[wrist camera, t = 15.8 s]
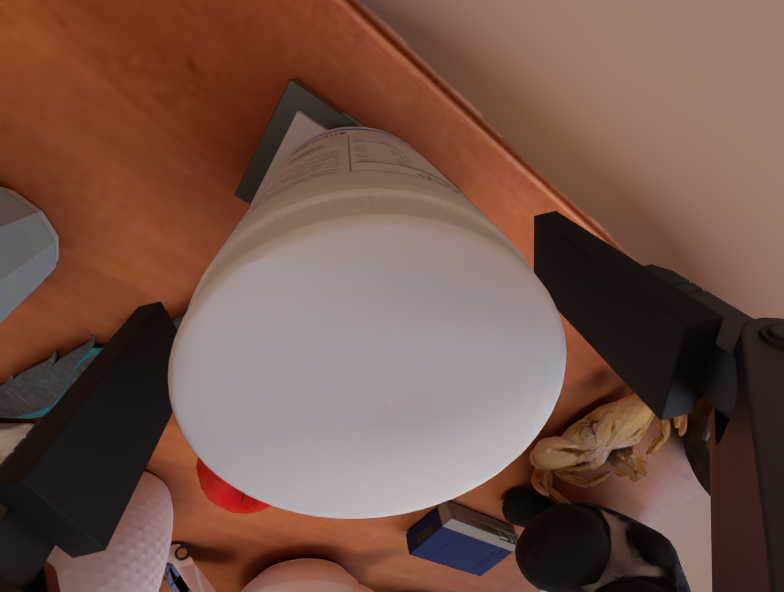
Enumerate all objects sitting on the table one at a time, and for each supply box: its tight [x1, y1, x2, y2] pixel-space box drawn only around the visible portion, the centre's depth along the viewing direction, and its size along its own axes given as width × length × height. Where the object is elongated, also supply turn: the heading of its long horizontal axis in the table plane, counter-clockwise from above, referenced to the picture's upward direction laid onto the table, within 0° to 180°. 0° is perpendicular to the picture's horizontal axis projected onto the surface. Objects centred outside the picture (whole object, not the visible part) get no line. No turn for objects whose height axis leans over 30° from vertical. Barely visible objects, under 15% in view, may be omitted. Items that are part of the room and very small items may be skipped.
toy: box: [502, 490, 691, 592], centre depth 36 cm, size 22×13×30 cm
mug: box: [46, 471, 173, 592], centre depth 29 cm, size 15×11×13 cm
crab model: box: [529, 392, 687, 504], centre depth 36 cm, size 16×13×6 cm
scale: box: [235, 78, 365, 206], centre depth 23 cm, size 12×7×3 cm, turn 56°
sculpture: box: [683, 397, 713, 496], centre depth 38 cm, size 13×8×20 cm
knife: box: [0, 315, 185, 419], centre depth 28 cm, size 24×1×5 cm
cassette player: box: [406, 501, 518, 576], centre depth 45 cm, size 7×2×12 cm
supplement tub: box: [168, 127, 567, 519], centre depth 15 cm, size 10×10×15 cm
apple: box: [196, 457, 272, 514], centre depth 30 cm, size 8×8×7 cm
